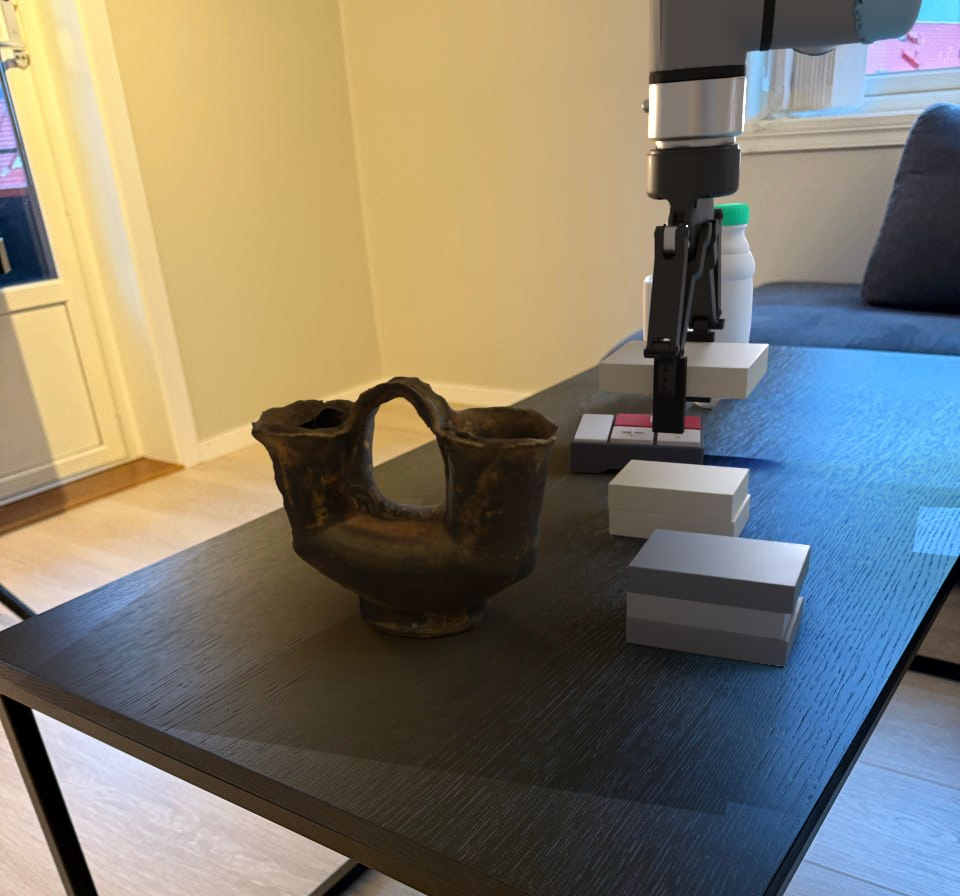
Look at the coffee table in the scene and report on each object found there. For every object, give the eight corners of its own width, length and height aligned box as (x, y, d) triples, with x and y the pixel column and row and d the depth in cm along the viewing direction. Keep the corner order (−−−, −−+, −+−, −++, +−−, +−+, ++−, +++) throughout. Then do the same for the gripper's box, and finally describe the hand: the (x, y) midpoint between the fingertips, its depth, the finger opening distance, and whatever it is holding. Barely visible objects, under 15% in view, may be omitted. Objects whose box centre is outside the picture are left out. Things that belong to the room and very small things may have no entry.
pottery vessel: (262, 627, 79) (213, 393, 69) (321, 573, 88) (285, 359, 78) (545, 658, 71) (535, 400, 61) (579, 596, 80) (575, 361, 70)
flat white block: (766, 372, 86) (769, 343, 85) (745, 399, 78) (748, 368, 77) (630, 367, 91) (631, 340, 90) (599, 392, 84) (599, 362, 82)
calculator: (705, 441, 102) (569, 435, 105) (701, 479, 104) (568, 472, 107) (705, 413, 112) (580, 408, 114) (701, 448, 114) (579, 442, 117)
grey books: (802, 621, 73) (811, 544, 70) (786, 668, 68) (795, 586, 64) (652, 601, 78) (654, 528, 75) (625, 642, 72) (626, 565, 69)
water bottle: (700, 395, 132) (709, 202, 120) (750, 398, 129) (765, 200, 117) (686, 409, 127) (695, 208, 115) (739, 412, 124) (753, 206, 112)
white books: (749, 519, 92) (752, 468, 90) (732, 548, 86) (736, 495, 84) (630, 507, 97) (631, 459, 94) (608, 534, 91) (607, 483, 89)
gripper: (683, 139, 85) (674, 384, 96) (606, 153, 68) (606, 449, 79) (766, 134, 82) (748, 387, 93) (708, 148, 65) (693, 456, 76)
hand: (682, 415), depth 86 cm, fingers closed on flat white block, 9 cm apart
